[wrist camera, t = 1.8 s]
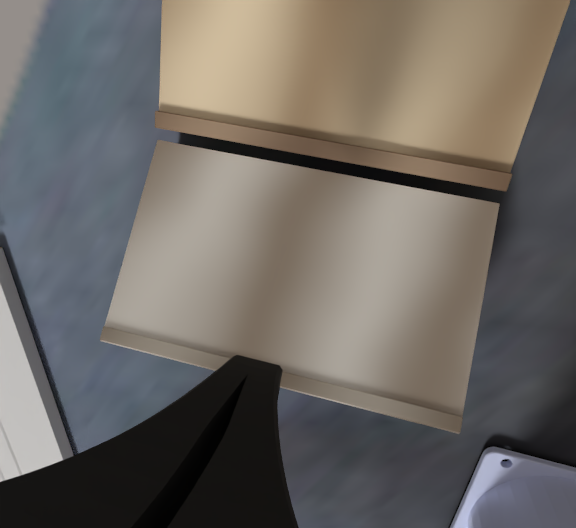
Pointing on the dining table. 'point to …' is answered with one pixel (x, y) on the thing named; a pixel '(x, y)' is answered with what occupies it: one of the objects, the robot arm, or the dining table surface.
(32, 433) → the baseboard
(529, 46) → the floor board
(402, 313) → the tan flat block
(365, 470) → the dining table surface
